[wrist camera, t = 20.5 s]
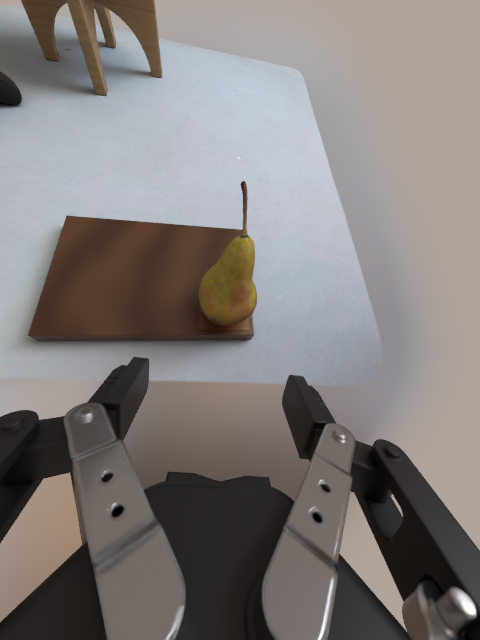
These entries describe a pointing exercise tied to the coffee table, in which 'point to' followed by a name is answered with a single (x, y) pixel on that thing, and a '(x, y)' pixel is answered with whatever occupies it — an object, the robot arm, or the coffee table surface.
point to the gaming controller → (9, 91)
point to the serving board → (131, 283)
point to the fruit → (231, 280)
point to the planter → (128, 3)
